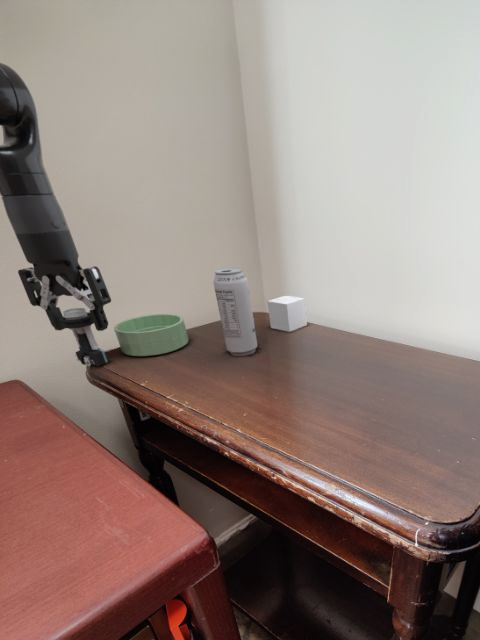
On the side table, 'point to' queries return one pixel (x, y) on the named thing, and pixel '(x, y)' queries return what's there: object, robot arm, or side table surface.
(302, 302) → the white cube
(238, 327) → the energy drink can
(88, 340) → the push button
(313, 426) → the side table surface
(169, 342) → the bowl
